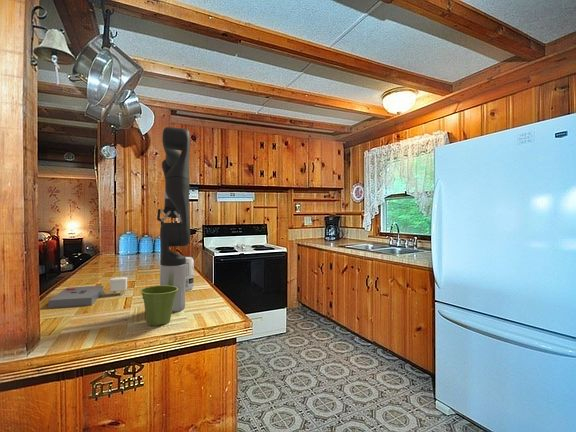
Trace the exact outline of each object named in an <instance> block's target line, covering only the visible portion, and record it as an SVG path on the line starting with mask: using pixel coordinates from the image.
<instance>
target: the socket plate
mask: <svg viewBox="0 0 576 432" xmlns="http://www.w3.org/2000/svg"><path fill="white" fill-rule="evenodd" d="M102 294H104V285H92V286H90V285H89V286H70V287H66V288H65V289H62V290H61V291H60V292H59V293H57V294H56V295H54V296H53V297H52V298H50V299H48V309H54V308H55V309H56V308H57V309H58V308H69V307H70V308H71V307H72V308H73V307H82V306H83V307H84V306H85V307H86V306H93V304H94V303H95V302H96V301H97V300H98V299H99V298H100V297H101V296H102Z"/></svg>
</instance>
